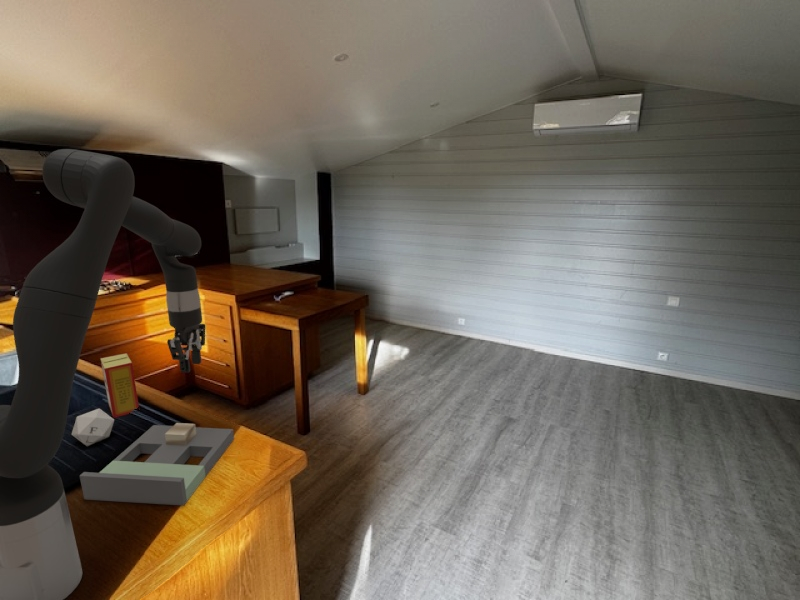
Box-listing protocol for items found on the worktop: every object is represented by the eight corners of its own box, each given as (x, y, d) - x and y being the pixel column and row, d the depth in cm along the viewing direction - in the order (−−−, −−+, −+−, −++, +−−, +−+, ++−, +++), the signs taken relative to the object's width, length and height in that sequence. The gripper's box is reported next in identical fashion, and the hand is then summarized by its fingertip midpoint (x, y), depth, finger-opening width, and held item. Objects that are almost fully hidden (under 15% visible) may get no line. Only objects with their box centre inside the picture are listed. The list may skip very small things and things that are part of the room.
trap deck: (183, 505, 86) (180, 481, 84) (84, 499, 87) (79, 475, 85) (234, 438, 109) (232, 419, 107) (155, 434, 110) (152, 415, 108)
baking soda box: (139, 410, 121) (131, 361, 117) (113, 418, 117) (104, 367, 113) (133, 398, 128) (126, 351, 124) (108, 405, 124) (100, 357, 120)
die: (66, 450, 104) (70, 431, 99) (77, 420, 109) (81, 401, 104) (104, 452, 108) (110, 434, 103) (113, 422, 114) (118, 404, 109)
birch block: (185, 445, 101) (184, 435, 100) (166, 444, 101) (164, 434, 100) (196, 434, 106) (195, 423, 105) (177, 433, 106) (176, 422, 105)
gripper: (182, 315, 95) (190, 380, 100) (212, 299, 109) (218, 357, 114) (151, 313, 96) (161, 379, 100) (185, 298, 109) (192, 356, 114)
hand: (191, 367), depth 107 cm, fingers open, 5 cm apart
